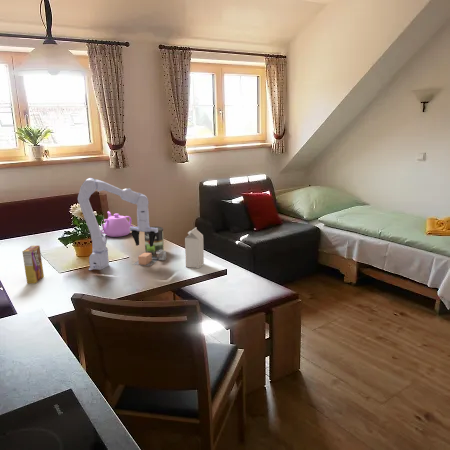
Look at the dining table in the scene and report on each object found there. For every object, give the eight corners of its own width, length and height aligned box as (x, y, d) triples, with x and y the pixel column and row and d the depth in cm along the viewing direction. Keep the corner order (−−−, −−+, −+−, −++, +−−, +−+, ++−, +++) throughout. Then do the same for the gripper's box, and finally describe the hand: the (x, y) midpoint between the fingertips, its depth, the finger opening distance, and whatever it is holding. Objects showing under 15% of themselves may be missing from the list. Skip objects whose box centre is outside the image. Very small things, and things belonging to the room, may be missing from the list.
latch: (161, 262, 212) (161, 252, 211) (154, 261, 213) (153, 251, 212) (166, 258, 218) (165, 248, 217) (159, 258, 219) (158, 248, 218)
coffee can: (159, 257, 224) (158, 231, 221) (141, 255, 227) (140, 230, 224) (167, 251, 234) (166, 227, 230) (150, 250, 237) (149, 225, 233)
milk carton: (203, 264, 213) (203, 227, 208) (199, 268, 206) (198, 230, 201) (190, 262, 214) (189, 226, 210) (185, 267, 208) (184, 230, 203)
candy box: (34, 276, 196) (31, 245, 192) (44, 276, 196) (40, 245, 192) (26, 283, 187) (21, 250, 184) (35, 283, 187) (31, 250, 184)
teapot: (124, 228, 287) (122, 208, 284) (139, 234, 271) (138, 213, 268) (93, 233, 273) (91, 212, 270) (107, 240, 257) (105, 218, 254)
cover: (146, 264, 209) (145, 257, 208) (138, 264, 210) (138, 256, 209) (151, 260, 215) (151, 253, 214) (144, 259, 216) (144, 252, 215)
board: (149, 268, 207) (149, 265, 206) (132, 266, 209) (132, 263, 209) (162, 258, 221) (161, 256, 221) (145, 257, 223) (145, 254, 223)
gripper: (160, 218, 209) (161, 244, 212) (133, 216, 213) (135, 242, 216) (154, 221, 203) (155, 248, 206) (126, 219, 206) (128, 246, 209)
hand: (144, 245), depth 210 cm, fingers open, 7 cm apart
